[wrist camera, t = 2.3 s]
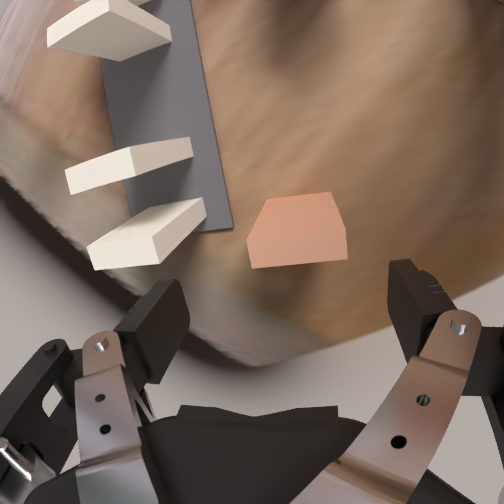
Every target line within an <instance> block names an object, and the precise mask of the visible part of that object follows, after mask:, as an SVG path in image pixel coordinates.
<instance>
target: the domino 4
mask: <svg viewBox="0 0 504 504" xmlns="http://www.w3.org/2000/svg"><path fill="white" fill-rule="evenodd" d="M246 241H247V246H248V251H249V256H250V261H251V267H252V269H253V268H263V267H274V266H285V265H295V264H305V263H315V262H325V261H335V260H344V259H348V257H347V241H346V229H345V226H344V224H343V221H342V219H341V216H340V214H339V211H338V209H337V206H336V204H335V201H334V199H333V196H332V194H331V192H323V193H314V194H305V195H297V196H289V197H281V198H273V199H267V200H266V202H265V204H264V206H263V208H262V210H261V212H260V214H259V216H258V218H257V220H256V222H255V224H254V226H253V228H252V230H251V232H250V234H249V236H248V238H247V240H246Z"/></svg>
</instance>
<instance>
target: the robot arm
mask: <svg viewBox="0 0 504 504" xmlns="http://www.w3.org/2000/svg"><path fill="white" fill-rule="evenodd" d="M498 1H500V2H502V3H504V0H498ZM387 303H388V311H389V315H390V318H391V320H392V323H393V326H394V328H395V331H396V334H397V336H398V339H399V342H400V345H401V347H402V350H403V353H404V356H405V359H406V362H407V366H406V367H405V369H404V371H403V372H402V374H401V375H400V377H399V379H398V380H397V382H396V383H395V385H394V386H393V388H392V390H391V391H390V393H389V394H388V396H387V397H386V398H385V400H384V401H383V403H382V404H381V406H380V407H379V408H378V410H377V411H376V413H375V414H374V415H373V417H372V418H371V420H370V421H369V422H368V424H365V423H363V422H360V421H357V420H353V419H348V418H342V417H338V406H326V407H311V408H295V409H291V410H287V411H282V412H277V413H273V414H268V415H262V416H257V417H252V416H247V415H243V414H239V413H235V412H231V411H227V410H223V409H220V408H216V407H201V406H189V405H181V406H180V409H179V411H178V414H177V415H176V416H170V417H165V418H161V419H158V420H157V419H156V417H155V414H154V411H153V408H152V406H151V403H150V400H149V397H148V394H147V392H146V390H145V388H144V386H145V384H146V383H150V384H160V382H161V380H162V378H163V376H164V374H165V372H166V370H167V368H168V366H169V364H170V362H171V361H172V359H173V357H174V355H175V353H176V351H177V349H178V347H179V345H180V343H181V342H182V340H183V338H184V336H185V334H186V332H187V330H188V328H189V325H190V314H189V311H188V307H187V304H186V301H185V298H184V294H183V291H182V287H181V284H180V282H179V281H178V280H176V279H174V280H160V281H158V282H157V283H156V284H155V285H154V287H153V288H152V289H151V290H150V291H149V293H148V294H146V295H145V296H143V297H142V298H140V299H139V300H138V301H137V302H136V303H135V305H134V306H133V308H131V309H130V311H129V312H128V314H126V315H125V317H124V318H123V319H122V320H121V321H120V323H119V324H118V325H117V326H116V327H115V329H114V330H113V331H103V332H100V333H97V334H95V335H93V336H91V337H90V338H89V339H88V340H87V341H86V342H85V343H84V345H83V348H82V349H76V350H70V349H69V347H68V345H67V343H66V342H65V341H64V340H63V339H55V340H51V341H49V342H47V343H45V344H44V345H42V346H41V347H40V348H39V349H38V351H37V352H36V353H35V354H34V355H33V357H32V358H31V359H30V360H29V361H28V362H27V363H26V364H25V365H24V367H23V368H22V369H21V370H20V371H19V373H18V374H17V375H16V376H15V377H14V379H13V380H12V381H11V382H10V384H9V385H8V386H7V387H6V389H5V390H4V391H3V392H2V393H1V395H0V504H475V503H474V502H472V501H471V500H470V499H468V498H467V497H465V496H464V495H462V494H461V493H460V492H458V491H457V490H456V489H454V488H453V487H451V486H450V485H449V484H447V483H446V482H444V481H443V480H442V479H441V478H439V477H438V476H436V475H435V474H434V473H433V472H431V471H430V470H428V469H427V467H428V465H429V464H430V462H431V460H432V458H433V456H434V454H435V452H436V450H437V448H438V446H439V444H440V442H441V440H442V438H443V436H444V434H445V432H446V430H447V428H448V425H449V423H450V421H451V419H452V416H453V414H454V411H455V409H456V407H457V404H458V402H459V399H460V397H461V396H481V398H482V401H483V403H484V406H485V409H486V412H487V414H488V417H489V421H490V424H491V427H492V429H493V432H494V436H495V439H496V442H497V446H498V450H499V453H500V457H501V461H502V464H503V468H504V326H503V327H483V326H482V325H481V322H480V320H479V319H478V317H476V316H475V315H474V314H472V313H470V312H467V311H464V310H458V309H457V308H456V307H455V305H454V304H453V302H452V301H451V299H450V298H449V296H448V295H447V294H446V292H444V289H443V288H442V287H441V285H439V283H438V281H437V280H436V279H435V277H434V276H432V275H431V274H429V273H427V272H426V271H424V270H422V271H418V269H417V268H416V267H415V265H414V264H413V262H412V261H411V260H410V259H403V260H393V261H390V263H389V276H388V298H387ZM52 385H54V387H55V388H56V389H57V391H58V392H59V394H60V395H61V397H62V399H61V401H60V402H59V404H58V405H57V407H56V408H55V410H54V411H53V413H52V414H51V416H50V417H48V416H47V415H46V413H45V412H44V410H43V408H42V401H43V398H44V397H45V395H46V394H47V392H48V391H49V390H50V388H51V387H52ZM77 440H78V443H79V450H80V459H81V461H80V464H78V465H76V466H75V467H73V468H71V469H69V470H67V471H65V472H64V473H61V474H60V472H61V470H62V468H63V466H64V464H65V462H66V461H67V459H68V457H69V455H70V453H71V451H72V449H73V447H74V445H75V443H76V442H77ZM59 474H60V475H59ZM498 504H504V486H503V488H502V490H501V492H500V495H499V498H498Z"/></svg>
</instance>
